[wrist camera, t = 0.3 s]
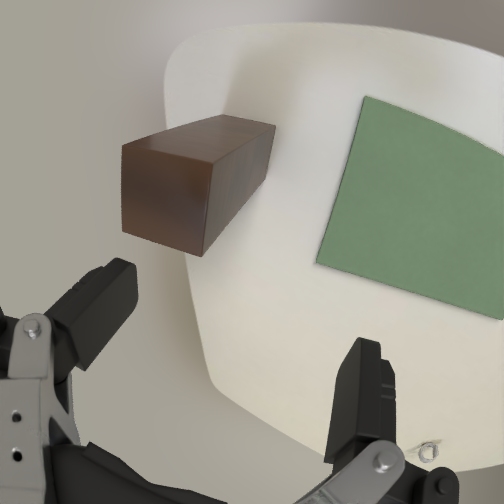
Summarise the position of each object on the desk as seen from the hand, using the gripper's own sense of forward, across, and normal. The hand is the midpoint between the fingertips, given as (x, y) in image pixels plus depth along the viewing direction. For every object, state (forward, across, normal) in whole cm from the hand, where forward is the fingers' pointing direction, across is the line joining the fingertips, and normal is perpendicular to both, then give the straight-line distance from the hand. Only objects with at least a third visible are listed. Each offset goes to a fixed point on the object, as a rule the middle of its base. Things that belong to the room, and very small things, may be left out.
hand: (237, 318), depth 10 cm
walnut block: (+12, +6, -1) cm, 13 cm away
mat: (+19, -15, 0) cm, 24 cm away
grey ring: (+19, -36, +38) cm, 56 cm away
